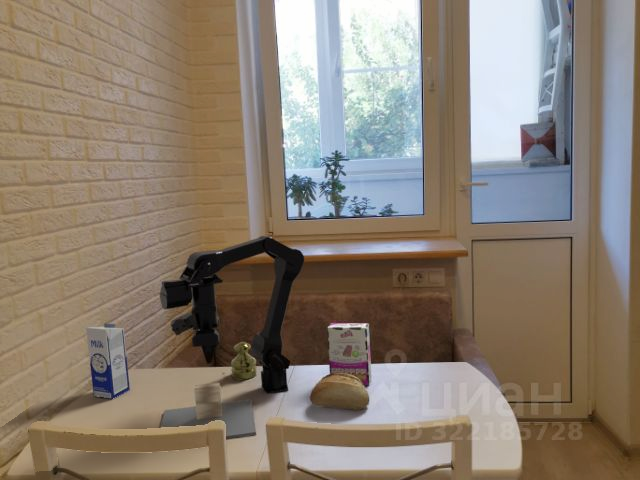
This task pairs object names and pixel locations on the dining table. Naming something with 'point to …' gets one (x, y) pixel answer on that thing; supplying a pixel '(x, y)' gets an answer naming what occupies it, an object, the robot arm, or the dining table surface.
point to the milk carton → (108, 360)
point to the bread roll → (340, 392)
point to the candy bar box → (350, 350)
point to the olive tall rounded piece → (243, 362)
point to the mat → (216, 418)
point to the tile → (208, 401)
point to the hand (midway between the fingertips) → (209, 361)
